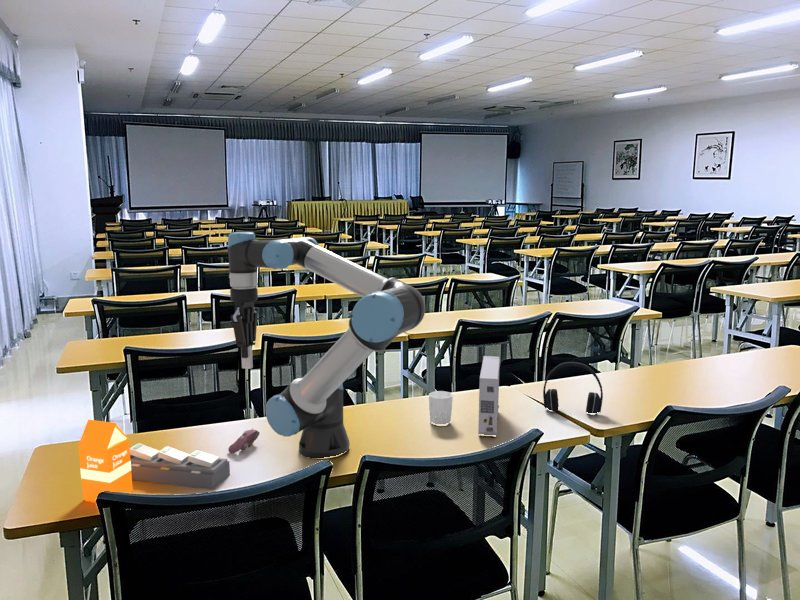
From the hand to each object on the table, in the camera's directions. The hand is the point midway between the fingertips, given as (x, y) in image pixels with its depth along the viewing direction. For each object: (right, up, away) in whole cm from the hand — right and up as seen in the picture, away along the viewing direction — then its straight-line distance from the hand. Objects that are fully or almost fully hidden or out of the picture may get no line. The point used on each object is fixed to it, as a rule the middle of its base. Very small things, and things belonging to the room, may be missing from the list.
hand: (247, 367), depth 182 cm
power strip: (-17, -28, -10) cm, 35 cm away
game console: (+74, -22, +28) cm, 82 cm away
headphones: (+104, -20, +39) cm, 113 cm away
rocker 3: (-8, -23, -14) cm, 28 cm away
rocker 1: (-26, -22, -9) cm, 35 cm away
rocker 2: (-17, -23, -11) cm, 31 cm away
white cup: (+58, -22, +29) cm, 68 cm away
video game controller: (-3, -26, +8) cm, 27 cm away
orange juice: (-30, -31, -21) cm, 48 cm away
